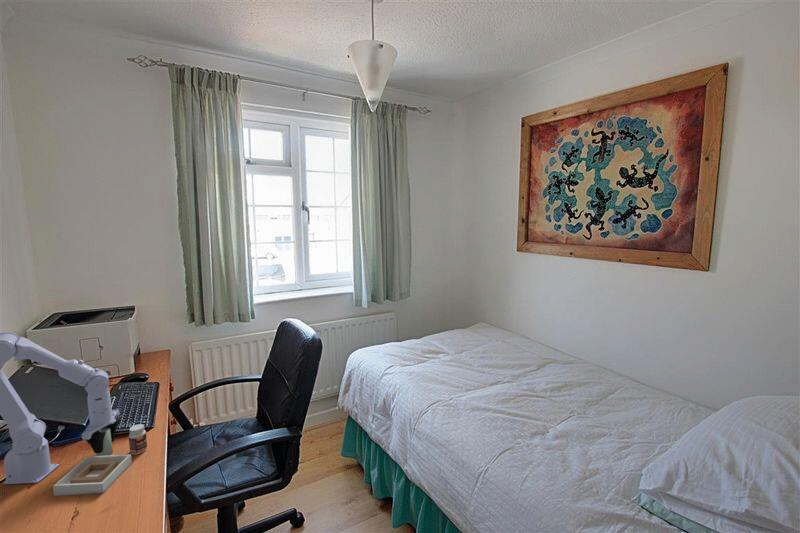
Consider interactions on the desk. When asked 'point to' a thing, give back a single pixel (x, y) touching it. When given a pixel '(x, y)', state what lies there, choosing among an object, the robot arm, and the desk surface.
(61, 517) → the desk surface
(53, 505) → the desk surface
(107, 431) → the peg
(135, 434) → the pill bottle
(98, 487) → the tray
